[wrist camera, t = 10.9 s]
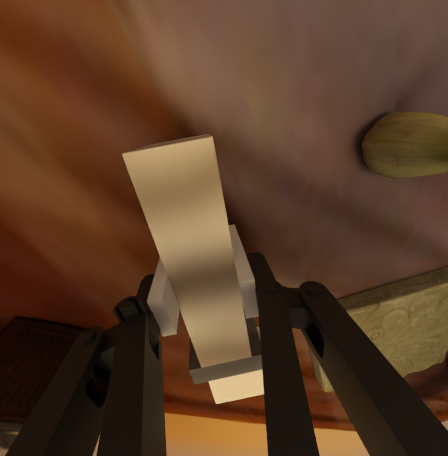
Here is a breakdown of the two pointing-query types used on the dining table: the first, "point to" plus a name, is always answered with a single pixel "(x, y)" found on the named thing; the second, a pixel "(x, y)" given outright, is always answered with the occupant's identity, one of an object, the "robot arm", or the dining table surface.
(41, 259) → the dining table surface
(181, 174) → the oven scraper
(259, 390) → the cream flat block
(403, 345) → the decorative tile
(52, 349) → the dark brown crank device
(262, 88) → the dining table surface
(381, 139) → the fennel bulb
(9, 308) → the dining table surface
